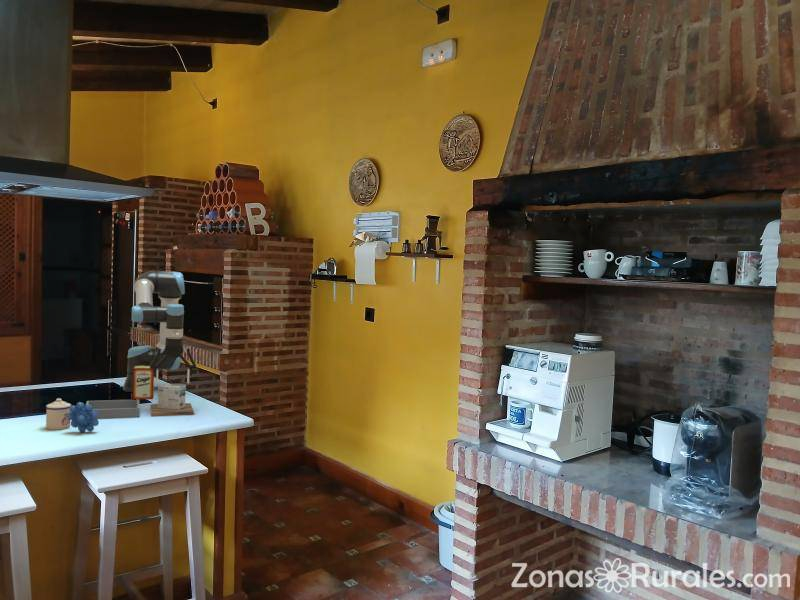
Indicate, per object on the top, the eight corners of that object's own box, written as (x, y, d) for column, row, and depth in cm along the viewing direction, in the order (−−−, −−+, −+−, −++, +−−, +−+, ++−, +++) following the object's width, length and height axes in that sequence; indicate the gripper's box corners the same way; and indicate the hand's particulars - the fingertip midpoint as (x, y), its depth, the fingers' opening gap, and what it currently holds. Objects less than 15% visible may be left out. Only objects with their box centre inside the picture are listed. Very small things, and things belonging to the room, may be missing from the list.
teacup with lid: (65, 430, 250) (66, 401, 249) (41, 430, 248) (42, 401, 248) (76, 423, 262) (77, 395, 261) (53, 422, 260) (54, 394, 260)
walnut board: (150, 407, 295) (150, 404, 295) (190, 406, 302) (190, 403, 302) (151, 416, 279) (151, 413, 279) (193, 414, 286) (193, 411, 286)
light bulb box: (185, 407, 293) (186, 384, 293) (179, 410, 287) (180, 386, 286) (163, 405, 294) (164, 382, 294) (156, 408, 288) (157, 385, 287)
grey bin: (86, 409, 285) (87, 400, 285) (139, 407, 294) (139, 399, 294) (83, 419, 268) (83, 410, 268) (139, 417, 276) (139, 408, 276)
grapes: (63, 434, 243) (63, 404, 243) (69, 430, 250) (69, 400, 249) (95, 434, 245) (96, 404, 245) (100, 430, 252) (101, 401, 251)
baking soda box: (153, 396, 320) (154, 365, 319) (152, 399, 314) (153, 367, 313) (133, 396, 317) (134, 365, 316) (132, 399, 311) (133, 367, 310)
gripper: (145, 338, 281) (143, 385, 282) (203, 338, 291) (201, 384, 292) (145, 336, 288) (143, 382, 289) (201, 336, 297) (199, 380, 299)
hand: (172, 383), depth 290 cm, fingers open, 13 cm apart
